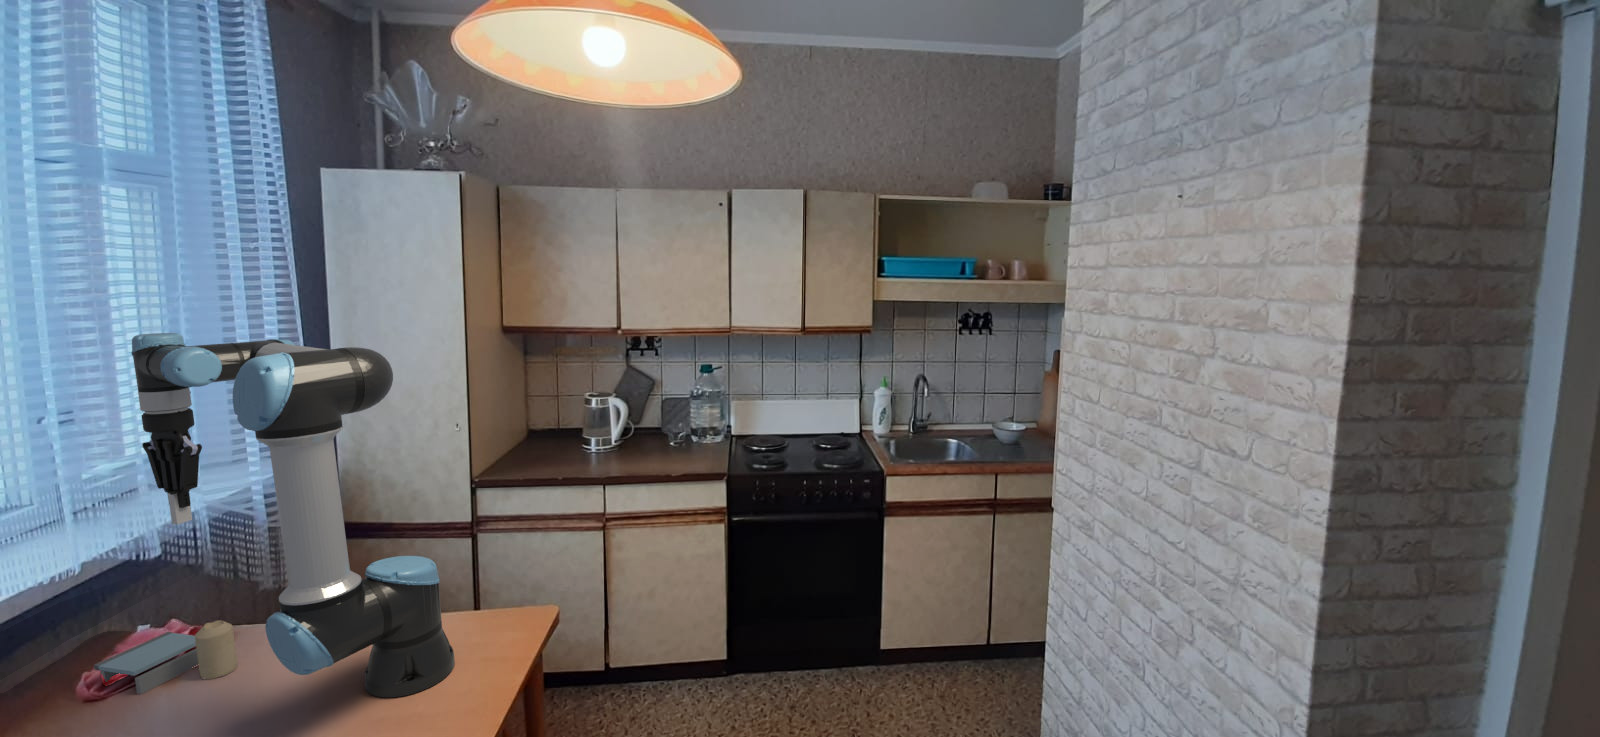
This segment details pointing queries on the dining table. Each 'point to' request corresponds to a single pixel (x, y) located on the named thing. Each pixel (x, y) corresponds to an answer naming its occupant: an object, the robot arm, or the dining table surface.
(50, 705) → the dining table surface
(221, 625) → the candle
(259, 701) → the dining table surface
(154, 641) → the cover
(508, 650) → the dining table surface
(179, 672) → the grey panel stand
